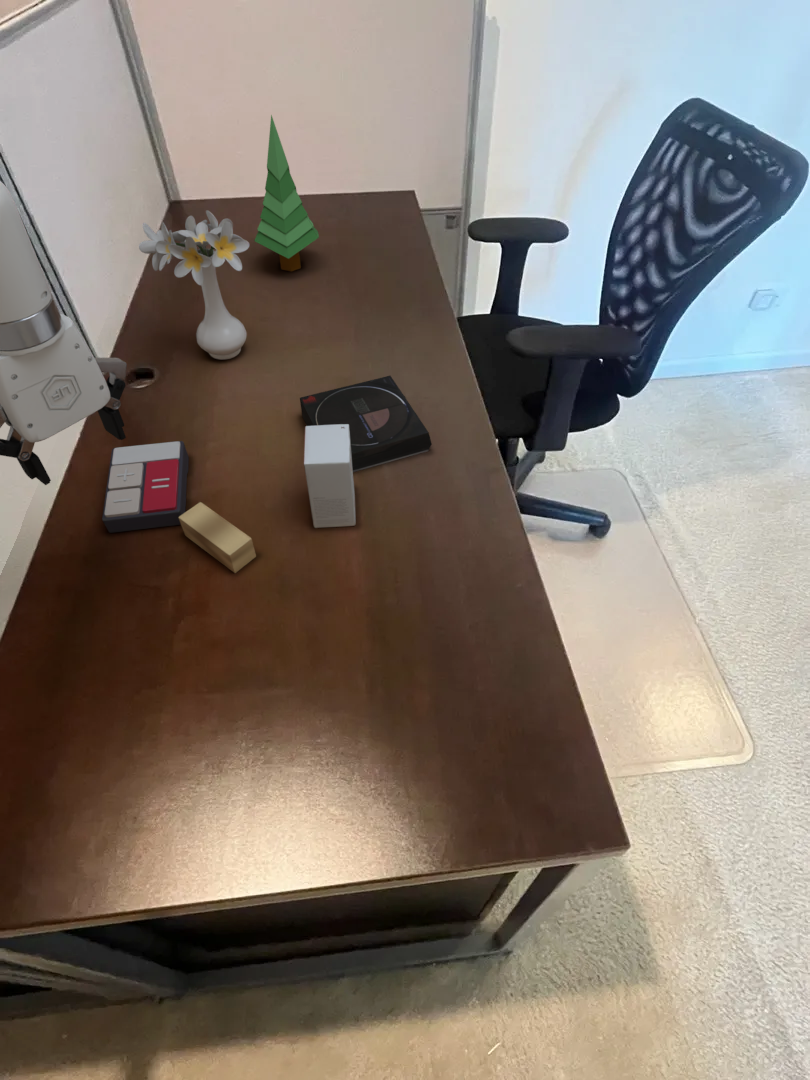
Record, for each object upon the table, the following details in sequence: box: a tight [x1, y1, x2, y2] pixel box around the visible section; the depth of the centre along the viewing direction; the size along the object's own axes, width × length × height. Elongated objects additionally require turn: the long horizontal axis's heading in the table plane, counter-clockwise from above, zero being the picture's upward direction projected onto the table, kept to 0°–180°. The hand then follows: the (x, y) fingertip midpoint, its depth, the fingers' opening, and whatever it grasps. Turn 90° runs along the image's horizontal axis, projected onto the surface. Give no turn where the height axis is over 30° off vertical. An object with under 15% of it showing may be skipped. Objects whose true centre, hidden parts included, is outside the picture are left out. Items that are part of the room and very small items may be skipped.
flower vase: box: [138, 209, 250, 361], centre depth 119 cm, size 13×18×25 cm
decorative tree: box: [254, 114, 320, 272], centre depth 139 cm, size 14×16×30 cm
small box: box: [303, 424, 357, 529], centre depth 97 cm, size 8×6×13 cm
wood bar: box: [178, 501, 257, 574], centre depth 95 cm, size 11×4×4 cm, turn 50°
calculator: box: [101, 440, 190, 534], centre depth 102 cm, size 11×4×15 cm
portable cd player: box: [299, 375, 433, 473], centre depth 111 cm, size 16×17×4 cm
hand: (79, 455), depth 76 cm, fingers open, 9 cm apart
